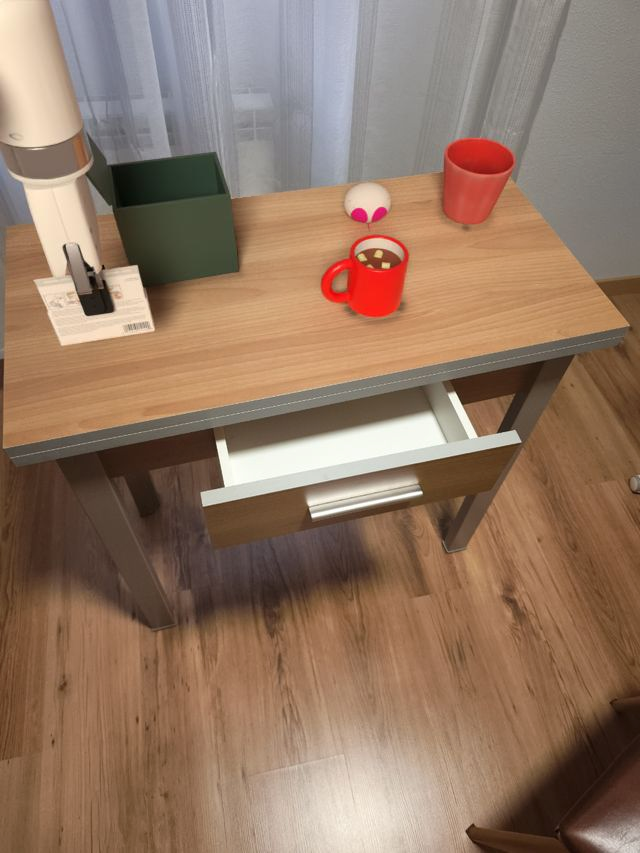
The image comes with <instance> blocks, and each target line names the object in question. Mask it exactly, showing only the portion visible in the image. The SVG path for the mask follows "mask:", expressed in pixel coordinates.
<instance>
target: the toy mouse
mask: <svg viewBox="0 0 640 853" xmlns="http://www.w3.org/2000/svg"><path fill="white" fill-rule="evenodd" d="M391 207H392V197H391V194H390V192H389V191H388V189H387V188H386V187H384V186H383V185H382V184H381V183H377V182H373V181H364V182H360V183H357V184H356V185H353V186H352V187H351V188H350V189H349V190H348V191H347V192H346V193H345V196H344V199H343V208H344V210H345V213H346V214H347V215H348V217H350V218H351V219H352V220H354V221H356V222H359V223H363V224H367V228H368V231H369V232H370V231H371V230H370V223H375V222H377V221H380V220H381V219H383V218H384V217H385V216H387V214H388V213H389V211H390V209H391Z"/></svg>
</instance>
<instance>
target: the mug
mask: <svg viewBox="0 0 640 853" xmlns="http://www.w3.org/2000/svg"><path fill="white" fill-rule="evenodd" d="M348 256H349V257H345V258H342V259H340V260H338V261H336V262H334V263H332V265H330V266H329V267H328V268H327V270H326V271H325V272H324V274H323V275H322V278H321V281H320V292H321V294H322V296H323V297H324V298H325V299H326V300H327V301H329V302H330V303H335V304H342V303H347V304H348V306H349V307H350V308H351V309H352V310H353V311H354V312H356V313H357V314H359V315H362V316H364V317H370V318H381V317H386V316H389V315H391V314H393V313H395V312H396V311H397V310H398V309H399V307H400V305H401V302H402V297H403V291H404V287H405V280H406V276H407V270H408V264H409V259H410V258H409V256H410V253H409V249H408V248H407V247H406V245H405V244H404V243H403V242H401V241H400V240H398V239H397V238H394V237H391V236H388V235H384V234H370V235H369V234H368V235H366V236H362V237H360V238H358V239H356V240H355V241H354V242H353V243H352V245H351V246H350V249H349V255H348ZM346 270H347V280H346V281H347V282H346V291H343V292H337V291H334V290H333V288H332V284H333V281H334V280H335V278H336V277H337V276H338V275H339V274H340V273H342V272H343V271H346Z"/></svg>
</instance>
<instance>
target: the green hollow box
mask: <svg viewBox="0 0 640 853" xmlns="http://www.w3.org/2000/svg"><path fill="white" fill-rule="evenodd" d="M107 168H108V176H109V184H110V193H111V201H112V205H111V209H112V214H113V217H114V221H115V224H116V227H117V230H118V233H119V237H120V240H121V243H122V247H123V251H124V253H125V256H126V260H127V263H128V266H133V265H137V266H138V269H139V274H140V277H141V281H142V285H143V288H146V287H151V286H152V287H153V286H160V285H165V284H171V283H178V282H184V281H185V282H186V281H190V280H196V279H202V278H208V277H216V276H222V275H226V274H227V275H228V274H233V273H239V272H240V267H239V258H238V249H237V240H236V231H235V224H234V223H235V222H234V214H233V206H232V205H233V204H232V196H231V192H230V188H229V186H228V183H227V181H226V178H225V174H224V171H223V168H222V166H221V162H220V160H219V156H218V154H217V151H210V152H203V153H193V154H192V153H191V154H186V155H177V156H176V155H175V156H168V157H161V158H159V157H158V158H153V159H144V160H136V161H135V160H134V161H127V162H120V163H119V162H118V163H112V164H111V163H110V164H107Z"/></svg>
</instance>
